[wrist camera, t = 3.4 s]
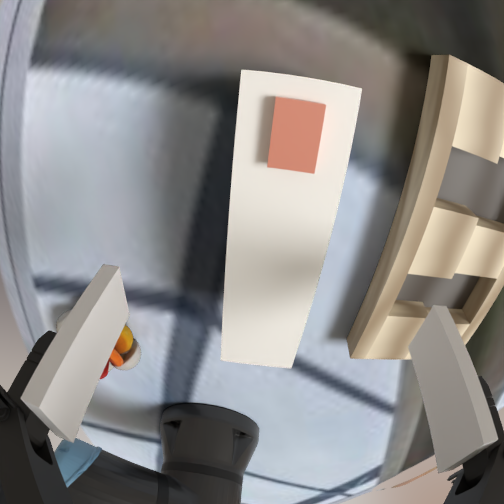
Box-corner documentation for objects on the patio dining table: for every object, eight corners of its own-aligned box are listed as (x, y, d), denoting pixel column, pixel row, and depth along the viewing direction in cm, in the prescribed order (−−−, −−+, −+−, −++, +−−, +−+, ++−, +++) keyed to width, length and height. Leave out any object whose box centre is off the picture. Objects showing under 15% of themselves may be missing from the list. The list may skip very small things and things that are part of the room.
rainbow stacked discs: (156, 345, 32) (137, 399, 26) (102, 355, 34) (81, 400, 28) (108, 289, 28) (76, 343, 22) (58, 308, 30) (29, 353, 24)
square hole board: (346, 338, 29) (350, 358, 27) (431, 55, 14) (449, 54, 12) (448, 341, 28) (455, 357, 26) (544, 117, 14) (562, 125, 12)
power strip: (232, 296, 27) (219, 367, 20) (253, 71, 17) (239, 69, 10) (289, 303, 26) (291, 375, 20) (332, 83, 17) (365, 89, 10)
